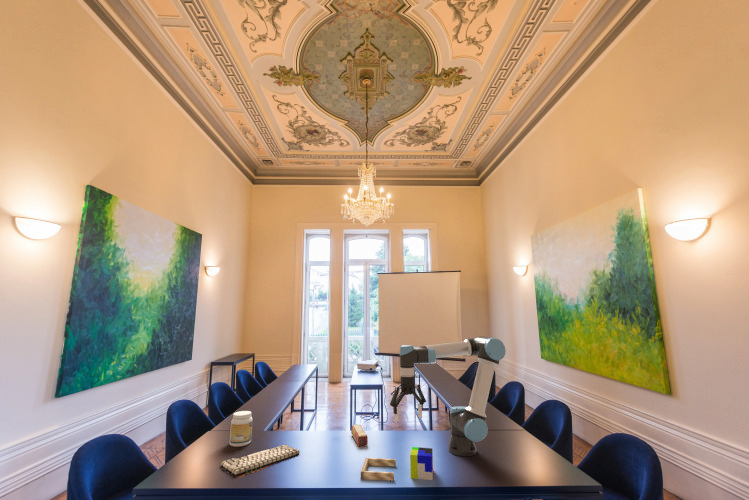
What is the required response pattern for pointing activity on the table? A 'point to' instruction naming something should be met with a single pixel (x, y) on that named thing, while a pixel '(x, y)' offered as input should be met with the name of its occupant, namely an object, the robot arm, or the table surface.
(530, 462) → the table surface
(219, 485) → the table surface
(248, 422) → the supplement tub
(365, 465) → the wooden open frame
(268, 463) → the mechanical keyboard
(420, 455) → the puzzle toy
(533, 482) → the table surface
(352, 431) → the snack package
